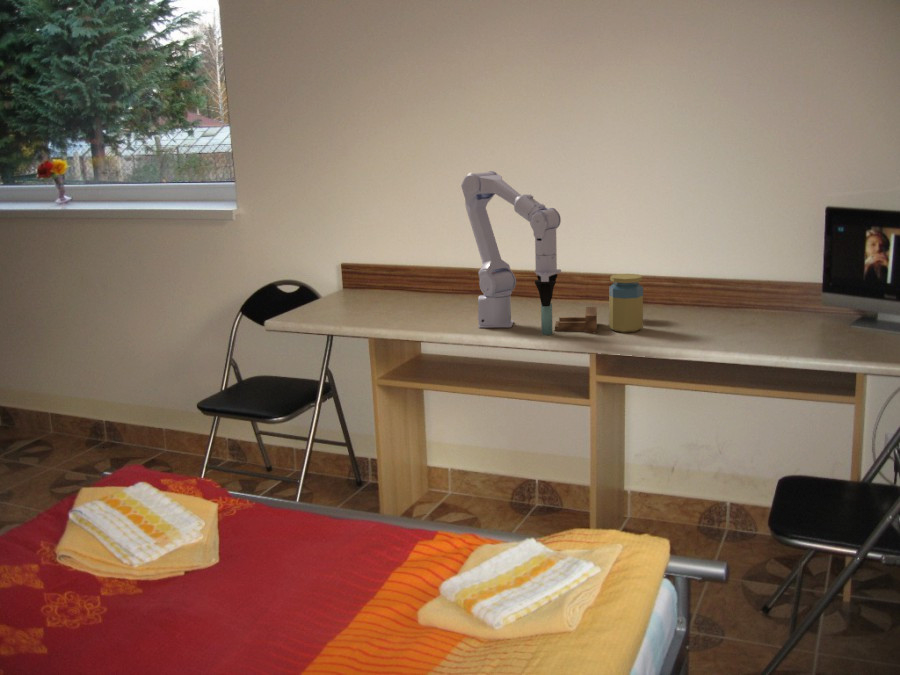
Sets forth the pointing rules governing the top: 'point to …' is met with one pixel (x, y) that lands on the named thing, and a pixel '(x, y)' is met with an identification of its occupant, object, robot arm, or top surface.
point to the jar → (626, 303)
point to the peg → (546, 319)
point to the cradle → (579, 322)
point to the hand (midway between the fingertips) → (546, 303)
